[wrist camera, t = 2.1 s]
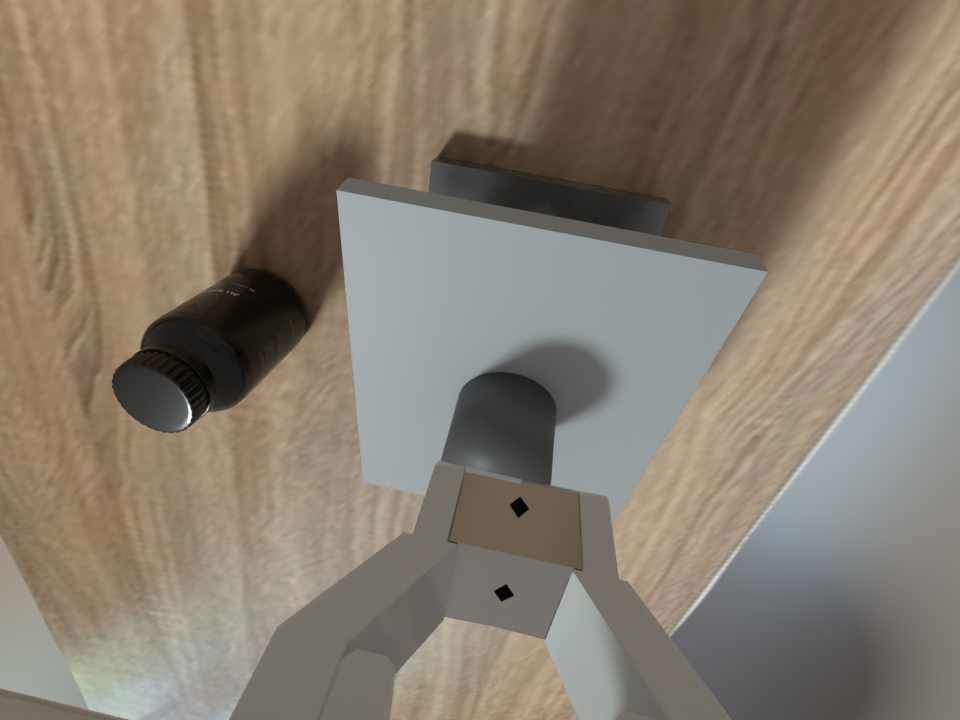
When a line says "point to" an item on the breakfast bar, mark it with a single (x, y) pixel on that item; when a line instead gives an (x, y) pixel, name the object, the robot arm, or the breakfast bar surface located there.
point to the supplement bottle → (210, 351)
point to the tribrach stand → (549, 196)
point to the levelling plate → (524, 338)
